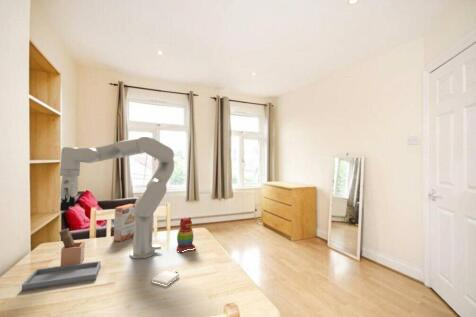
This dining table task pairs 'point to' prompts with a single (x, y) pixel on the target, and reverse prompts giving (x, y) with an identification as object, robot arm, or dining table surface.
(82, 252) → the square clay planter
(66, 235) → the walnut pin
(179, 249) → the stacking bear
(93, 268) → the grey tray
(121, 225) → the cracker box
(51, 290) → the dining table surface
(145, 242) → the robot arm
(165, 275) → the perfume bottle
